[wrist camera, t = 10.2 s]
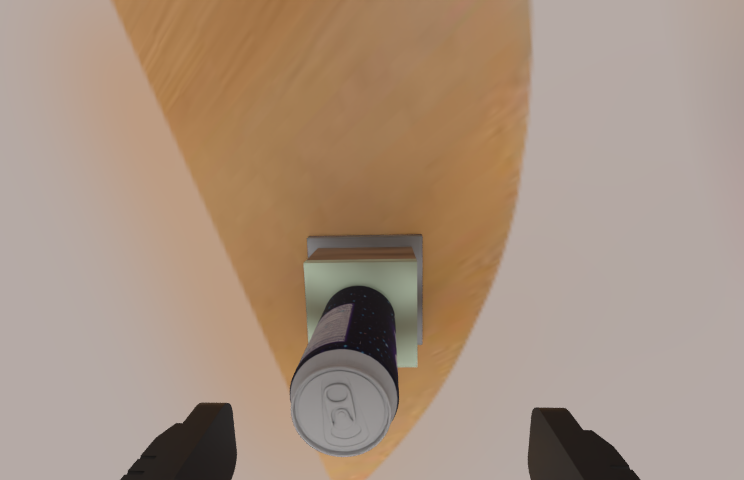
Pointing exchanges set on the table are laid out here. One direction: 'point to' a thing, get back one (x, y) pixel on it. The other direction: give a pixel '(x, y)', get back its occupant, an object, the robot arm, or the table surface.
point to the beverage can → (348, 375)
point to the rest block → (369, 280)
